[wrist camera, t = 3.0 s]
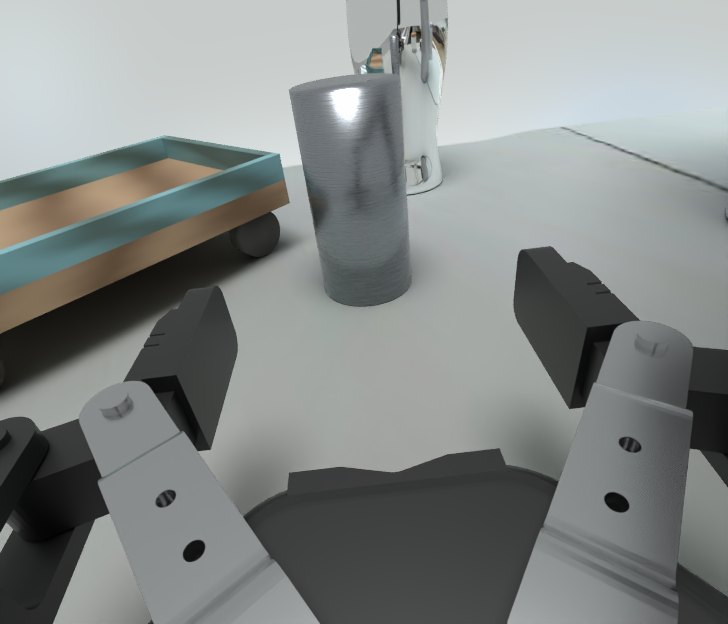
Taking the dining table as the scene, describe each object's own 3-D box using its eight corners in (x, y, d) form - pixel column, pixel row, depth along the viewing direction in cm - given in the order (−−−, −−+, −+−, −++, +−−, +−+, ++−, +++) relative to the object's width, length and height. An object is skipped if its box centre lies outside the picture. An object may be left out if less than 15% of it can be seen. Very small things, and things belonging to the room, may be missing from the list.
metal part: (364, 254, 28) (342, 73, 22) (428, 274, 25) (422, 72, 19) (307, 289, 25) (266, 92, 19) (372, 316, 22) (346, 95, 16)
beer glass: (348, 185, 39) (321, -33, 30) (410, 164, 42) (400, -39, 33) (400, 204, 34) (384, -49, 25) (465, 179, 37) (471, -55, 28)
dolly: (190, 208, 38) (164, 135, 34) (298, 245, 30) (279, 153, 26) (-111, 327, 26) (-193, 234, 23) (-71, 442, 18) (-190, 323, 15)
